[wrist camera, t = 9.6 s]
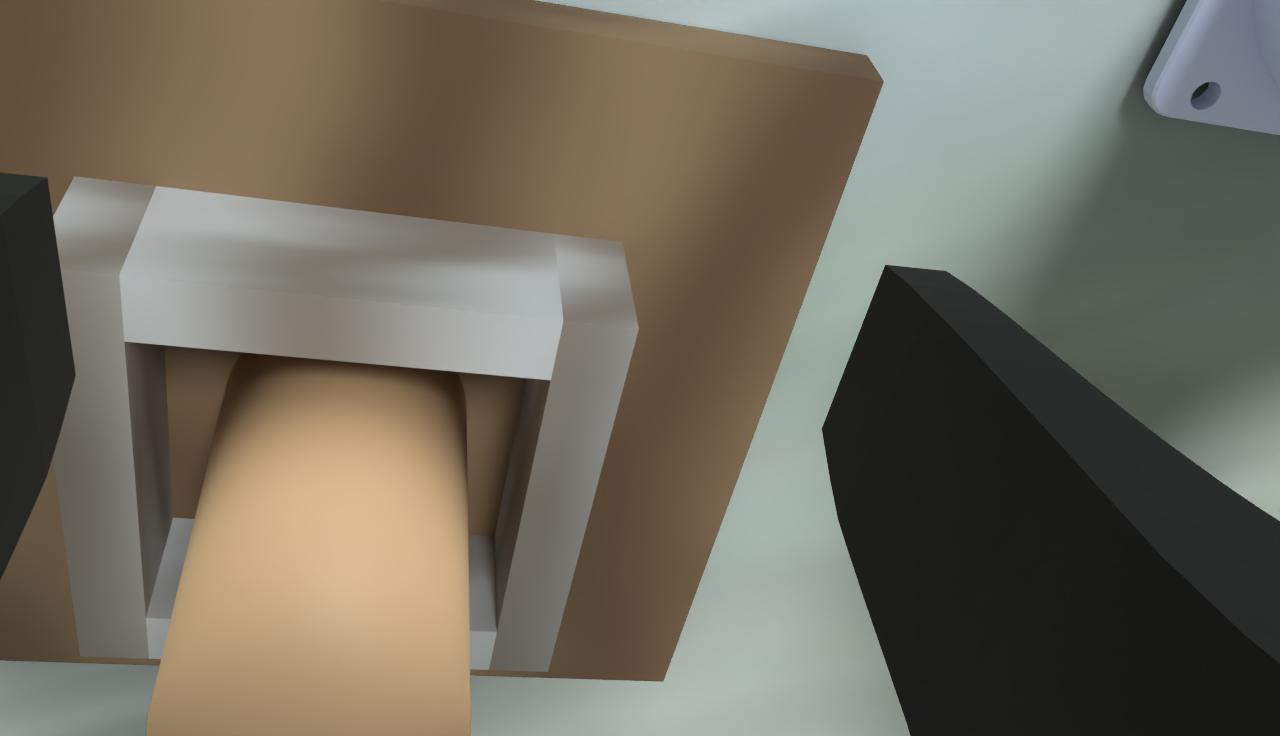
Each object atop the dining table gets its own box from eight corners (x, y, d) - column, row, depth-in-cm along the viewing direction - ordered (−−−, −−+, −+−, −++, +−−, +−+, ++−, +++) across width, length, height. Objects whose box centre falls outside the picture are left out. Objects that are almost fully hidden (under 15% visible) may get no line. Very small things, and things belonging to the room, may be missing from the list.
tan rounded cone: (470, 317, 20) (476, 633, 15) (463, 491, 23) (466, 811, 18) (212, 311, 20) (122, 642, 14) (236, 492, 22) (168, 826, 17)
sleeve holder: (867, 55, 19) (932, 156, 16) (658, 647, 29) (677, 773, 26) (-213, -124, 16) (-354, -32, 13) (-41, 621, 25) (-102, 762, 23)
